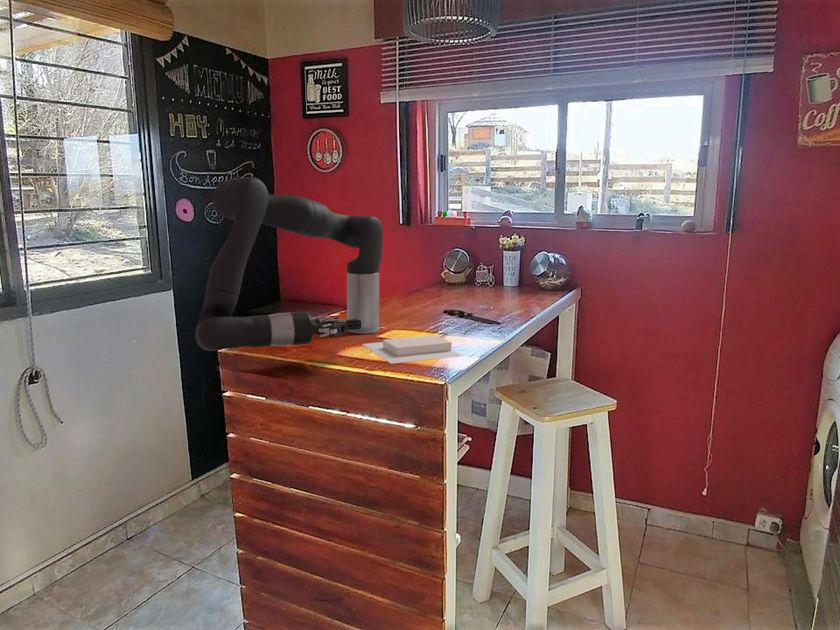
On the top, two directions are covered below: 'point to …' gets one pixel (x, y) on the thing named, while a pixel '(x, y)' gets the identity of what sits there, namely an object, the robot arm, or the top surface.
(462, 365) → the top surface
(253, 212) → the robot arm
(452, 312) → the knife
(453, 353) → the mat
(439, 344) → the tile
